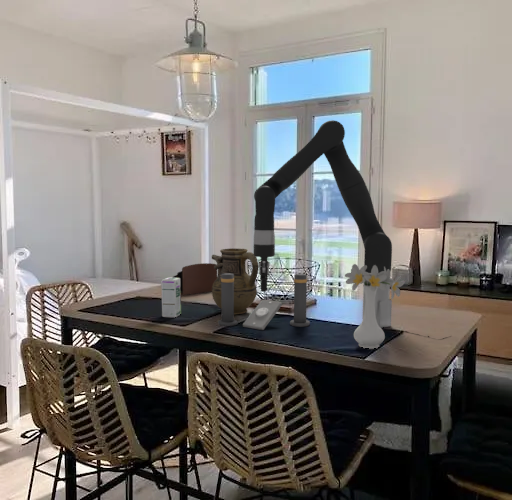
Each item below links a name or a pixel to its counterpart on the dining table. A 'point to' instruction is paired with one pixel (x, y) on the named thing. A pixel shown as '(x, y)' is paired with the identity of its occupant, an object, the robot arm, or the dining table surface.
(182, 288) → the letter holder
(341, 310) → the dining table surface
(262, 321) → the light switch
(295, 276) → the post
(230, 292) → the post
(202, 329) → the dining table surface
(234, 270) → the decorative pitcher
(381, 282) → the flower vase
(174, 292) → the syrup box
